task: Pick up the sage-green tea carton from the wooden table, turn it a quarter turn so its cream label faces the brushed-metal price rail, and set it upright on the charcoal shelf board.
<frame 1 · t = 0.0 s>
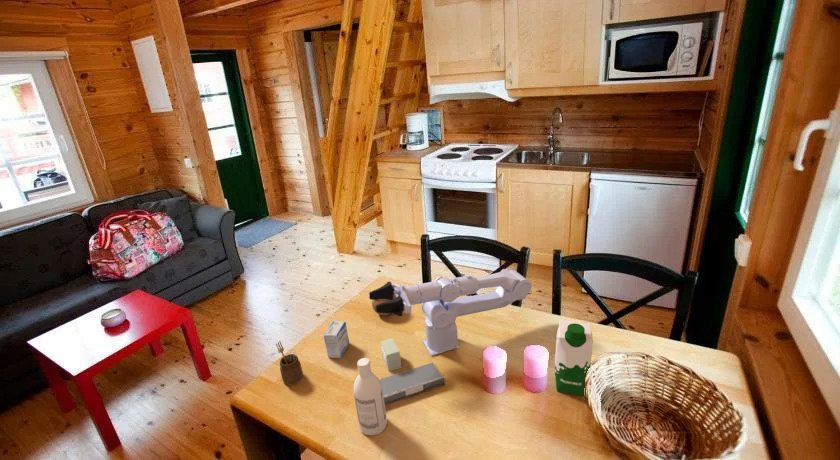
hand: (372, 302, 116), 22 cm above the table, tool horizontal, fingers open, 7 cm apart
medicine box: (339, 350, 131), on the table
milk carton: (570, 385, 110), on the table
onion: (386, 312, 149), on the table
bath foam: (373, 425, 103), on the table
tea carton: (391, 362, 124), on the table
shelf board: (406, 384, 114), on the table
utensil holder: (293, 378, 121), on the table
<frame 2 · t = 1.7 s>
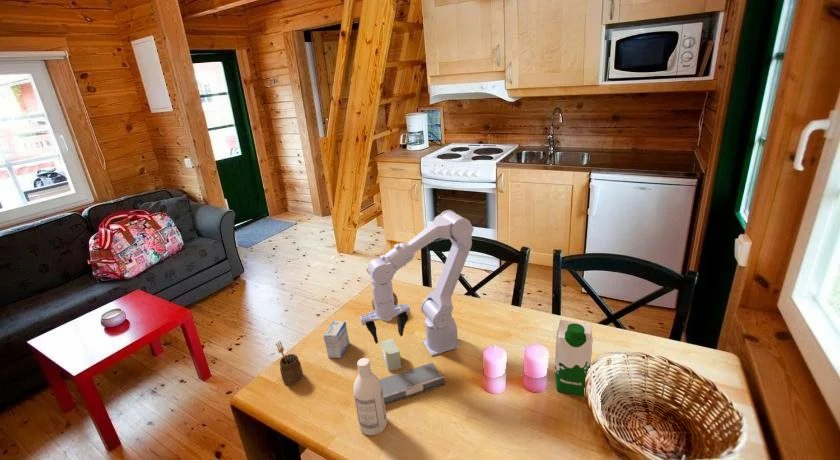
hand: (388, 337, 120), 9 cm above the table, tool pointing down, fingers open, 7 cm apart
nothing on the table moved.
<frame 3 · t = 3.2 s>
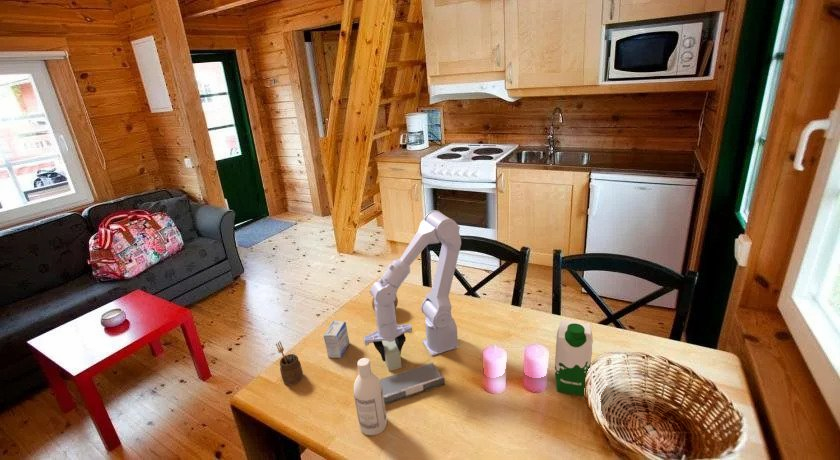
hand: (391, 357, 123), 2 cm above the table, tool pointing down, fingers closed on tea carton, 4 cm apart
tea carton: (391, 362, 124), on the table, touching gripper
everything else where it was.
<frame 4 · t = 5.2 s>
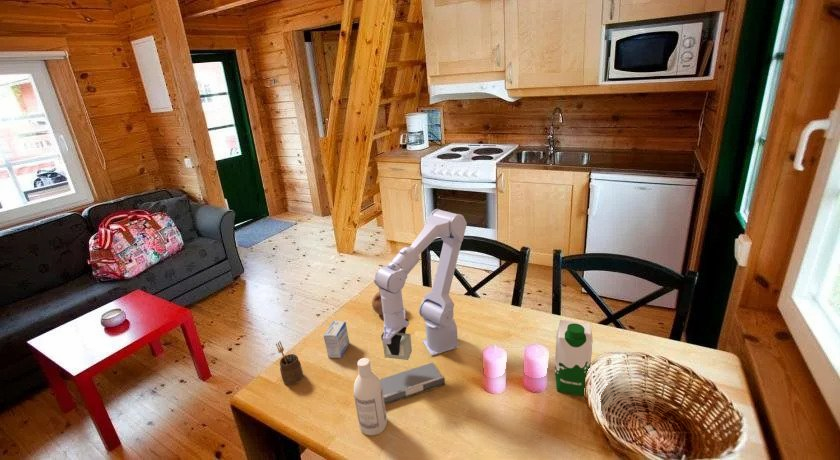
hand: (397, 348, 116), 9 cm above the table, tool pointing down, fingers closed on tea carton, 4 cm apart
tea carton: (398, 354, 116), point 7 cm above the table, touching gripper
everything else where it was.
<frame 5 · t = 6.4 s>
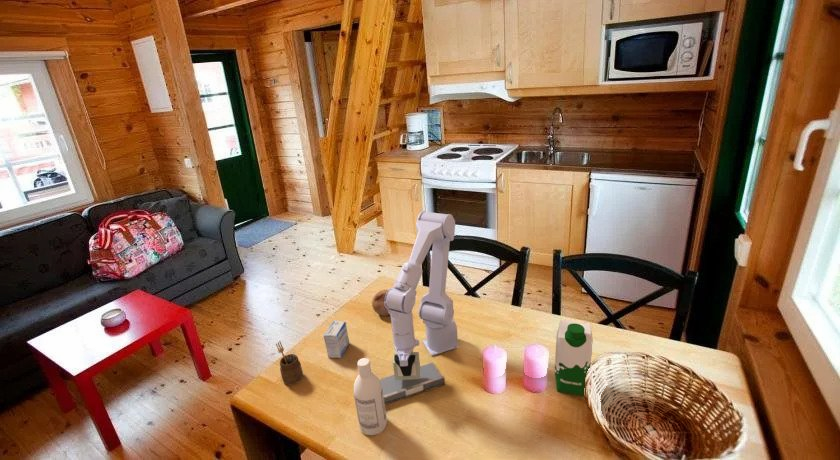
hand: (407, 369, 113), 5 cm above the table, tool pointing down, fingers closed on tea carton, 4 cm apart
tea carton: (407, 374, 114), point 3 cm above the table, touching gripper
everything else where it was.
when the fingers open (4 cm above the table, at t = 7.4 s): tea carton drops 1 cm, resting on shelf board.
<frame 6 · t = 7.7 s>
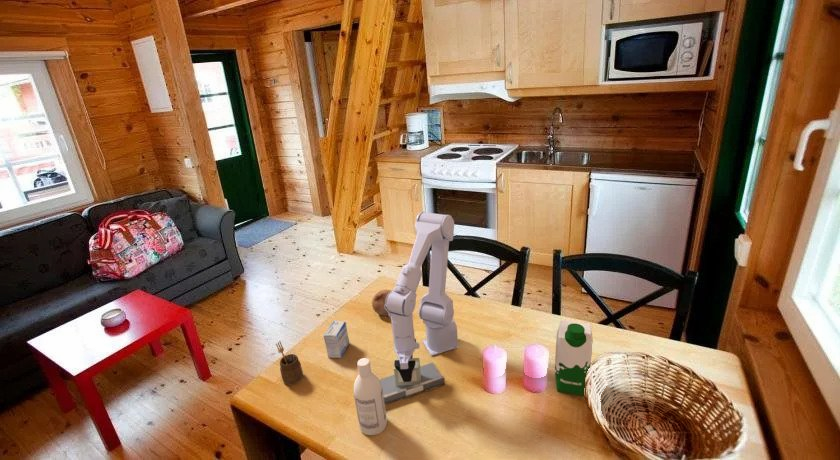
hand: (407, 371, 114), 4 cm above the table, tool pointing down, fingers open, 6 cm apart
tea carton: (408, 380, 115), point 1 cm above the table, touching shelf board
everything else where it was.
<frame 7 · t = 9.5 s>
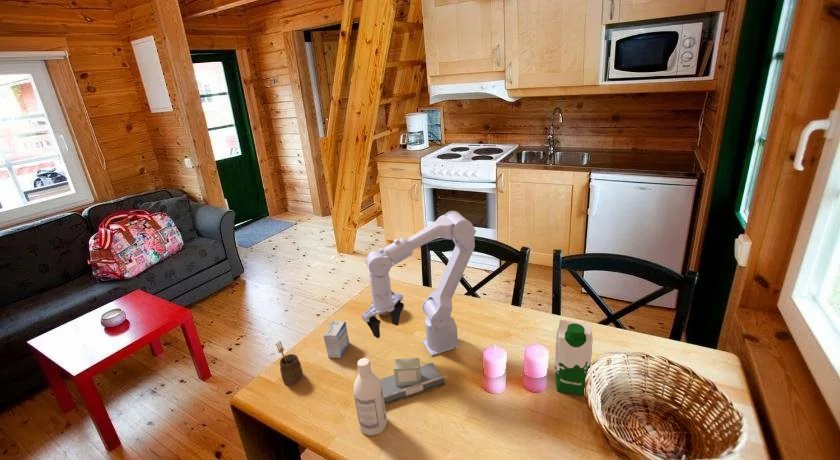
hand: (386, 330, 122), 10 cm above the table, tool pointing down, fingers open, 7 cm apart
nothing on the table moved.
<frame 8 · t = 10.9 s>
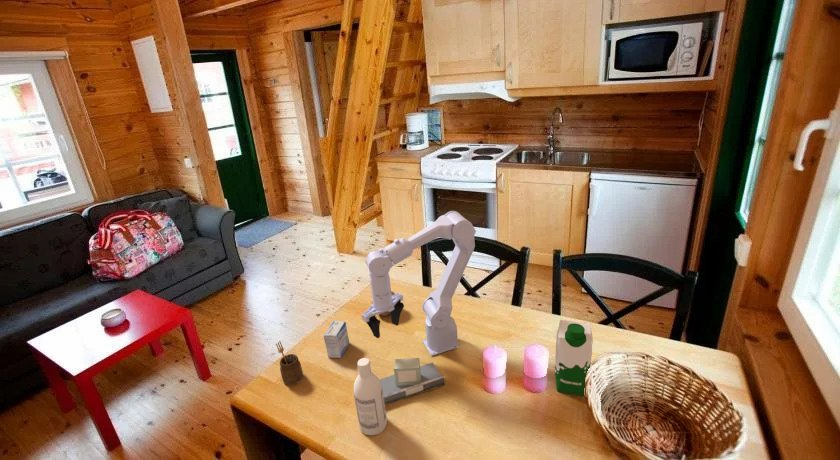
hand: (386, 330, 122), 10 cm above the table, tool pointing down, fingers open, 7 cm apart
nothing on the table moved.
at the end: tea carton inside the target area (0.3 cm from its centre), point 0.8 cm above the table; tea carton tilted 0°; the gripper is holding nothing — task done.
